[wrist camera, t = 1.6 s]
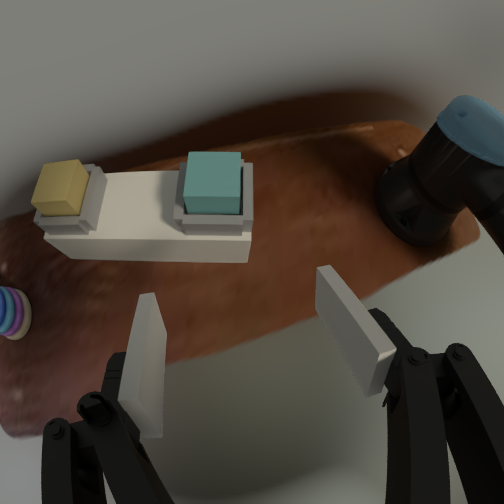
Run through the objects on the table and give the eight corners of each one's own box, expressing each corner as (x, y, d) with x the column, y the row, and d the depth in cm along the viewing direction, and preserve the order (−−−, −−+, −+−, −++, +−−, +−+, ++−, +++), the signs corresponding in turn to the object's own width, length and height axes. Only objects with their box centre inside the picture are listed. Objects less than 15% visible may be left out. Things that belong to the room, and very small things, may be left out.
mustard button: (89, 175, 30) (78, 159, 27) (79, 214, 29) (65, 200, 25) (56, 179, 30) (44, 163, 27) (45, 216, 28) (30, 202, 25)
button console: (247, 202, 42) (252, 156, 32) (247, 263, 39) (253, 229, 29) (82, 204, 41) (51, 165, 30) (71, 258, 38) (31, 229, 27)
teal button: (239, 171, 32) (240, 152, 28) (238, 214, 30) (240, 196, 27) (192, 171, 31) (188, 152, 28) (187, 213, 30) (183, 196, 26)
